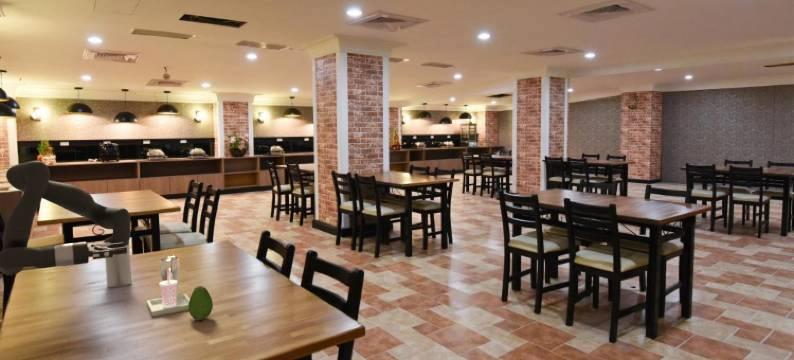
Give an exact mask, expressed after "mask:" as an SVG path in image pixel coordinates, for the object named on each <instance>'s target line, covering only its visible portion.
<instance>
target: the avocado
mask: <svg viewBox="0 0 794 360" xmlns="http://www.w3.org/2000/svg"><path fill="white" fill-rule="evenodd" d="M189 298H190V301H189V304H188V310H187V311H188V313H189V314H190V315H189V316H191V317H192V318H193V319H194V320H196V321H202V320H205V319H207V318H208V317H209V316H210V315H211V313H212V311H213V307H214V304H213V303H214V302H213V299H212V296H211V294H210V292H209V291H208V289H207V288H206V287H204V286H202V285H198V286H195V288H194V289H193V291H192V292H191V296H190V297H189Z"/></svg>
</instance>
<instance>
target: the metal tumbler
mask: <svg viewBox="0 0 794 360" xmlns="http://www.w3.org/2000/svg"><path fill="white" fill-rule="evenodd" d="M159 267H160V268H159V269H160V276H161V282H162V281H166V280H167V269H168V272H169V280H177V292H176V295H181V294H180V293H181V292H180V289H179V279H180V272H181V269H180V260H179V257H178V256H174V255H173V256H166V257H165V256H164V257H162V258H160V266H159Z"/></svg>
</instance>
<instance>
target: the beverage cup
mask: <svg viewBox="0 0 794 360" xmlns="http://www.w3.org/2000/svg"><path fill="white" fill-rule="evenodd" d="M158 284H159V285H158V286H159V287H160V295H161V298H162V304H163V307H164V308H169V307H174V306H176V292H177V280H169V272H168V269H167V280H166V281H162V280H161V281H160V282H159V283H158Z"/></svg>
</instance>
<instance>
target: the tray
mask: <svg viewBox="0 0 794 360" xmlns="http://www.w3.org/2000/svg"><path fill="white" fill-rule="evenodd" d="M190 298H191V297H189V295H188V294H187V293H182V294H179V295H176V306H174V307H169V308H164V307H163V304H162V297H159V298H154V299H153V298H152V299H149V300H148V299H146V300H145V301H146V307H147V310H148V311H149V313H150V315H151V318H155V317H156V318H157V317H159V316H160V317H161V316H165V315H171V314H177V313H179V312H180V313H181V312H185V311H189V310H188V304H189V301H190Z"/></svg>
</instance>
